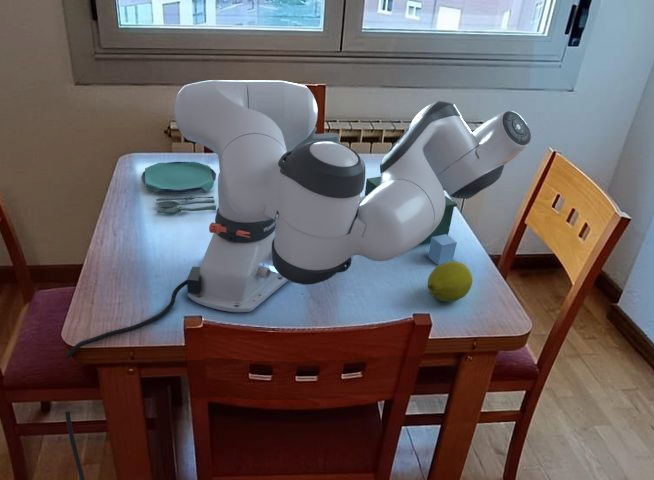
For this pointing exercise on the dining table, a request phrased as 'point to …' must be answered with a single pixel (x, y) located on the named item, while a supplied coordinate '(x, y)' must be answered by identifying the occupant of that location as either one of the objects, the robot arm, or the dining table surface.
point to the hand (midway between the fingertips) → (430, 189)
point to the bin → (441, 228)
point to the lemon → (450, 281)
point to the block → (442, 249)
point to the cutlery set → (179, 183)
